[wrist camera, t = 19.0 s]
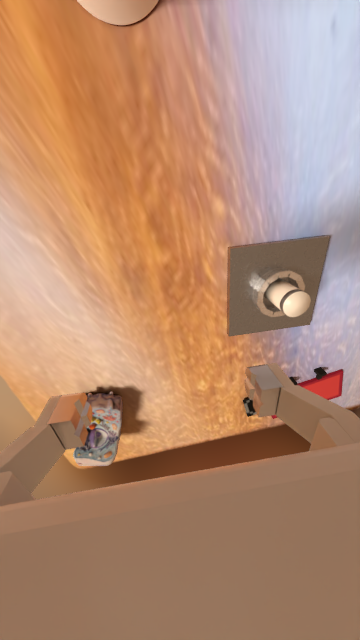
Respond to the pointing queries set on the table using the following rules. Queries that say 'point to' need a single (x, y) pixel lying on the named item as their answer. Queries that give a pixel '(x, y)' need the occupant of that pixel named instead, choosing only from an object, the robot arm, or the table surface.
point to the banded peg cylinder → (287, 298)
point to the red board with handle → (313, 387)
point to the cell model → (101, 431)
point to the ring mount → (262, 269)
